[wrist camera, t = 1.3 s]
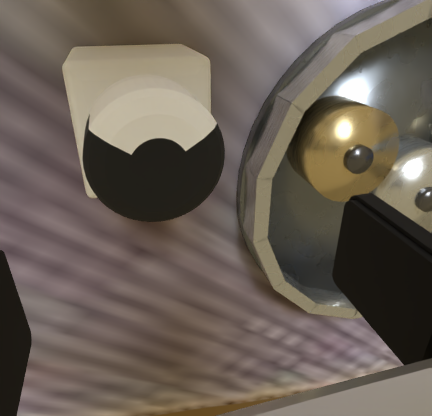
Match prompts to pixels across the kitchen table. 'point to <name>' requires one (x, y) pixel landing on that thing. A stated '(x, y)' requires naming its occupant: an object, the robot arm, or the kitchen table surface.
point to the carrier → (339, 147)
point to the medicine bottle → (144, 127)
